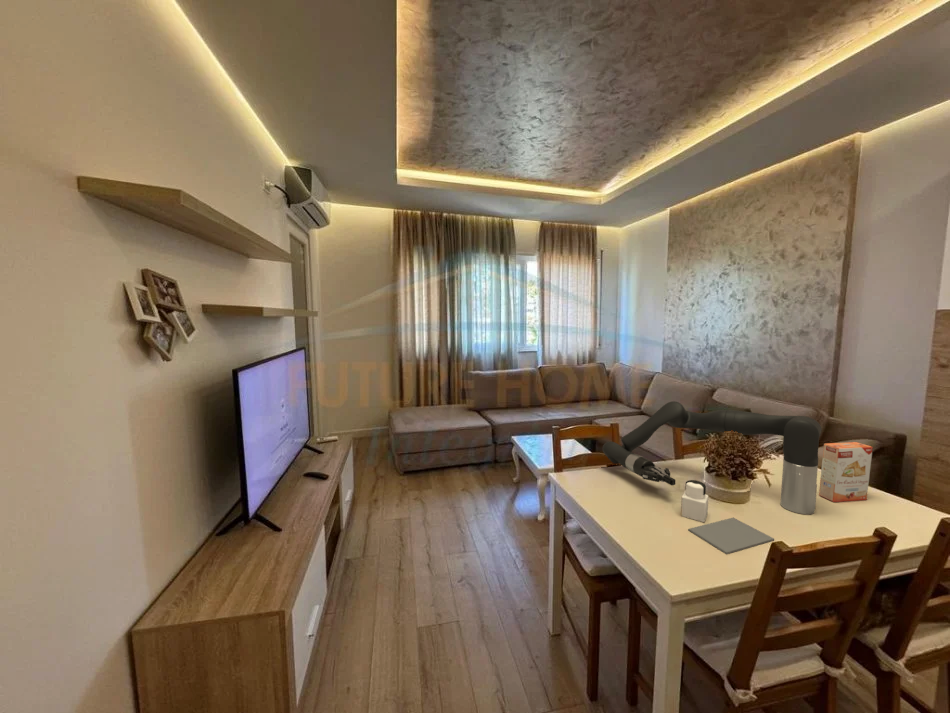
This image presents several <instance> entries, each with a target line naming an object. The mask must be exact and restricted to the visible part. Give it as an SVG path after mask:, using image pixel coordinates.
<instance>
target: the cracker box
mask: <svg viewBox="0 0 950 713" xmlns="http://www.w3.org/2000/svg"><path fill="white" fill-rule="evenodd" d="M873 448H874V447H873V446H871V445H867V444H864V443H861V442H856V441H853V442H852V441H851V442H829V443H823V449H822V450H823V451H822V462H821V470H820V478H819V479H820V482H819V492H818V496H820V497H822V498H824V499H826V500H828V501H830V502H833V503H837V502H838V503H839V502H841V503H842V502H855V501H867V498H868V492H869V482H870V474H871V473H870V472H871V466H872V457H873Z"/></svg>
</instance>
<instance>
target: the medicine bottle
mask: <svg viewBox="0 0 950 713" xmlns="http://www.w3.org/2000/svg"><path fill="white" fill-rule="evenodd" d="M706 491H707V486H706V484H705V483H703V482H702V481H699V480H696V479H689V480H686V481H685V489H684V492H683V494H682V496H681V506H680V508H681V511H680V515H681V517H683V518H686V519H691V520H695V521H698V522H700V523H701V522H702V523H705V522H706V520H707V516H708V513H709V494H706V493H707V492H706Z"/></svg>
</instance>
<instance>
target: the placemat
mask: <svg viewBox="0 0 950 713" xmlns="http://www.w3.org/2000/svg"><path fill="white" fill-rule="evenodd" d="M688 532H689V533H692V534H693V535H695V536H696V537H697V538H700V539H701V540H702V541H704V542H706V543H707V544H709V545H711V546H713V547H714V548H715V549H717V550H719V551H720V552H722V553H724V554H725V555H730V554H733V553H737V552H740V551H742V550H743V551H744V550H747V549H750V548H752V547H753V548H754V547H757V546H759V545H763V544H767V543H771V542H773V541H775V538H774V537H772V536H771V535H768V534H766V533H764V532H763V531H760V530H758V529H757V528H754V527H753V526H751V525H749V524H747V523H745V522H743V521H741V520H739V519H737V518H735V517H730V518H726V519H722V520H718V521H714V522H710V523H706V524H702V525H699V526H693V527H690V528H688ZM772 540H773V541H772ZM769 541H770V542H769Z"/></svg>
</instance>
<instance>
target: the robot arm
mask: <svg viewBox="0 0 950 713" xmlns="http://www.w3.org/2000/svg"><path fill="white" fill-rule="evenodd" d="M666 424H668V426H671V427H673V428H676V429H693V430H694V429H695V430H696V429H697V430H698V429H699V430H706V431H712V432H720V433H724V431H731V430H733V431H734V432H735V431H737V432H738V433H742V434H743V435H742V436H748V435H749V436H753V435H755V436H757V435H775V436H781V437H783V438H782V439H783V440H782V441H783V443H782V453H783V454H782V455H783V459H782V460H783V463H782V473H781V474H782V476H781V491H780V506H781V507H783V509H785V510H788V511H790V512H791V513H792V512H793V513H796V514H801V515H813V514H814V513H815V510H816V507H817V506H816V505H817V491H818V484H817V482H818V468H819V445H820V444H819V443H820V436H821V434H822V425H821V424H820V423H819V422H818V421H817V420H816V419H814V418H812V417H809V416H806V415H778V414H777V415H775V414H773V415H772V414H764V413H758V412H751V411H743V410H733V409H716V410H713V411H712V410H711V411H709V412H695V411H694V412H693V411H690V410H686V409H685V407H684V405H683V404H682V403H680V402H679V401H674V400H673V401H669V402H667V403H665V404H664V405H662V406H661V407H660V408H659V409H658V410H656V412H655V413H654V414H652V415H651V416H650V417H649V418H648V419H646V420H645V421H644V422H643V423H642V424H640V425H639V426H638V427H636V428H634V429H633V430H631V431H629V432H628V433H627V434H625V435H623V436H622V437H621V440H620V441H621V443H622V445H620V444H618V443H617V442H614V441H606V442H605V443H604V444H603V445H602V452H603V453H604V455H605V456H606V457H607V459H608V460H609V461H610V462H612V463H613V464H619V465H621V466H622V467H623V468H626V469H628V470H629V471H630V472H632V473H634V474H635V475H637V476H639V477H641V478H642V479H643V480H646V481H651V482H656V483H660V482H662V483H666V484H667V485H669V486H675V485H676V479H675V478H673V477H672V476H671V472H670V468H668V467H665V468H663V469H662V468H661V467H658V466H656V465H655V464H654V462H653V461H652V460H650V459H648V458H646V457H644V456H642V455H639V454H636V453H634V452H633V451H634V450H635V449H637V448H639V447H640V446H642V445H644V444H645V443H646V442H647V441H648V440H650V438H651V437H652V436H653V435H654V433H655V432H656V431H657V430H658V429H659V428H661V427H662V426H664V425H666Z"/></svg>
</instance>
